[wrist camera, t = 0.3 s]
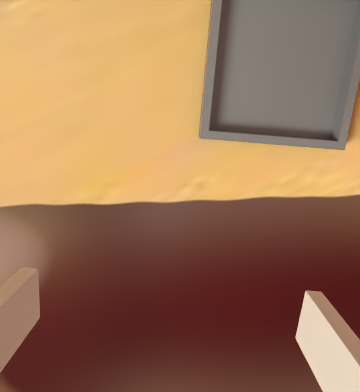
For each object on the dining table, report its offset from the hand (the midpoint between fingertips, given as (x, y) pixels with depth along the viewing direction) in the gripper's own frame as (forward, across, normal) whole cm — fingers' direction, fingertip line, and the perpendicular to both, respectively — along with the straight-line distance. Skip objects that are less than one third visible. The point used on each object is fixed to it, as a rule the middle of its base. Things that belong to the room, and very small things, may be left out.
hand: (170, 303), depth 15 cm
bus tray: (+27, +11, +16) cm, 33 cm away
